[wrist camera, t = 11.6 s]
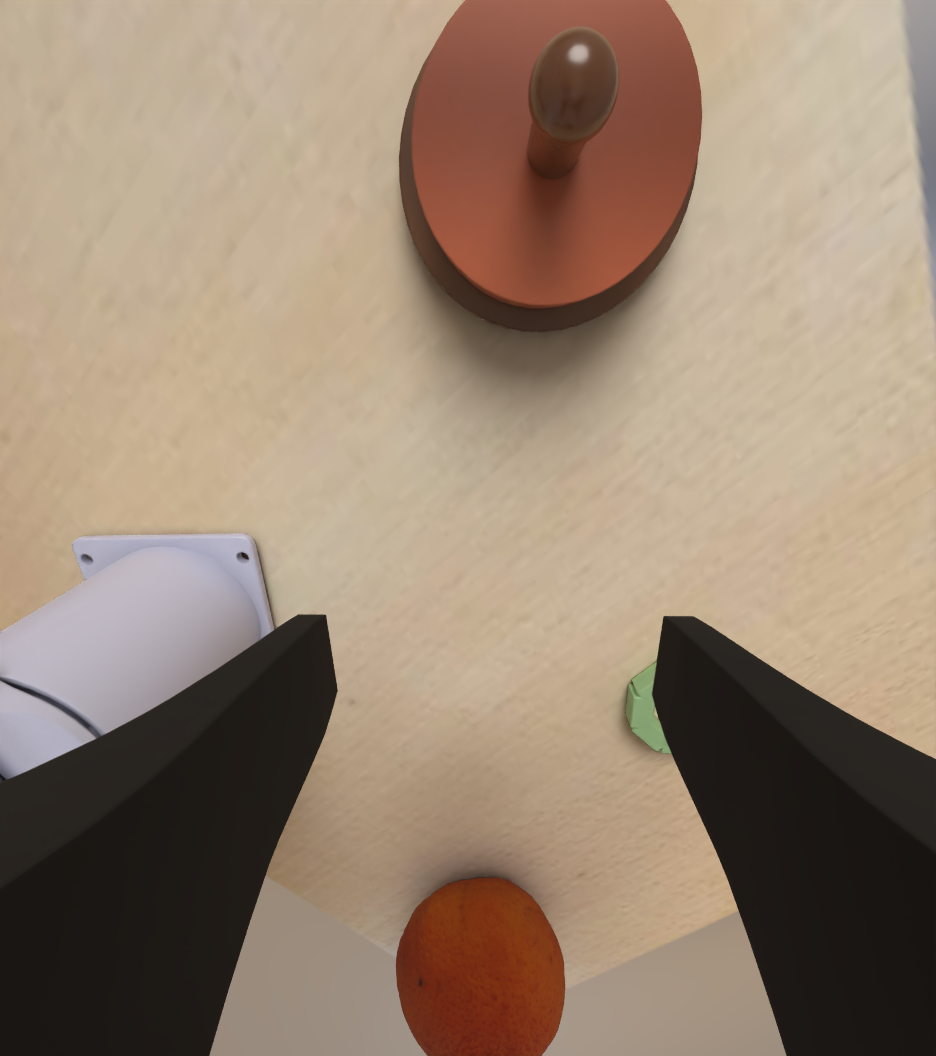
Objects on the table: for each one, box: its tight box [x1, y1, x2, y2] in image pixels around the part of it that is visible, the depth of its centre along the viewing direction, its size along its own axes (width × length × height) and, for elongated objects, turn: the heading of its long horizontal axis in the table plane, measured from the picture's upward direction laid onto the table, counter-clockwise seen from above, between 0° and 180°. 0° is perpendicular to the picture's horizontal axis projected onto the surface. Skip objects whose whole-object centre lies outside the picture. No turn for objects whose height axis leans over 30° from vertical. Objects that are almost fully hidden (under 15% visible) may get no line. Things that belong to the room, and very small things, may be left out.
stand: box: [399, 0, 702, 332], centre depth 12 cm, size 9×9×7 cm
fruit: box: [396, 878, 565, 1056], centre depth 25 cm, size 9×9×8 cm
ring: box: [625, 661, 672, 754], centre depth 22 cm, size 5×5×1 cm
